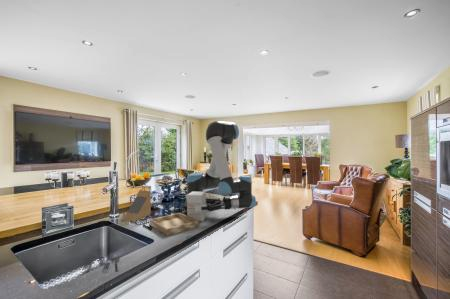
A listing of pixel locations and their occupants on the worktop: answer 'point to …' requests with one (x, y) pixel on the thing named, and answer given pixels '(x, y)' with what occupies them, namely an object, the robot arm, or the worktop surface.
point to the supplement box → (196, 200)
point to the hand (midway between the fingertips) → (193, 205)
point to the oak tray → (173, 223)
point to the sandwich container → (139, 206)
